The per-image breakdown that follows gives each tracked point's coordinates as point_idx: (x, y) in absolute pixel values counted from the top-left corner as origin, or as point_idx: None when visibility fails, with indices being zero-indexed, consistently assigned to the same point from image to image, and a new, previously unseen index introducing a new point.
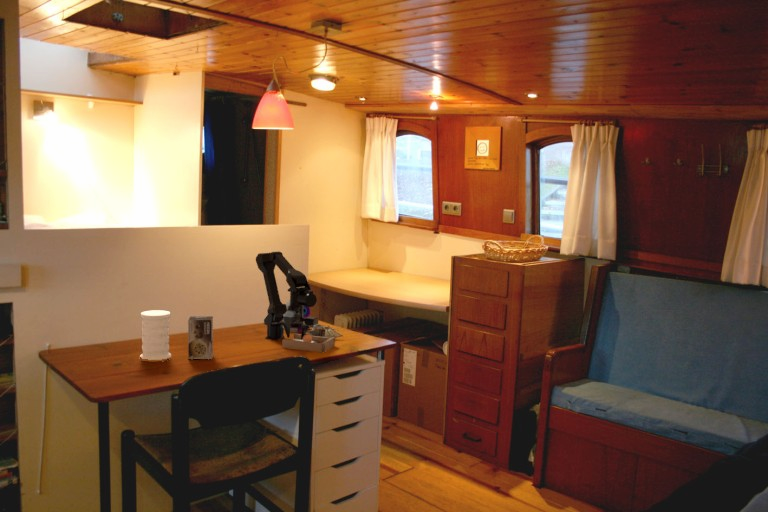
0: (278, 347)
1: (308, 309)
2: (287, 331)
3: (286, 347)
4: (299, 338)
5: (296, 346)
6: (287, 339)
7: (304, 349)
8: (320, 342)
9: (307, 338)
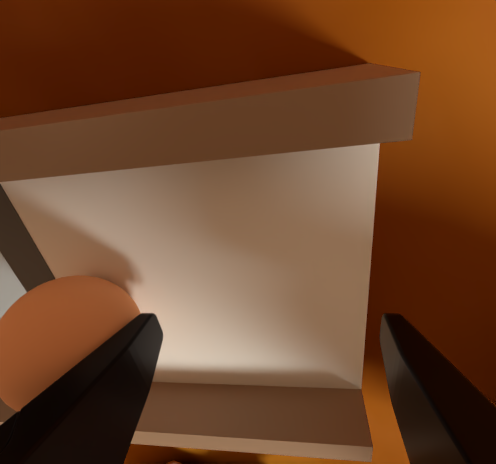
0: (442, 23)
1: None
2: (443, 423)
3: (292, 76)
4: (287, 393)
5: (107, 106)
6: (296, 143)
7: (10, 118)
8: None
9: (8, 315)
